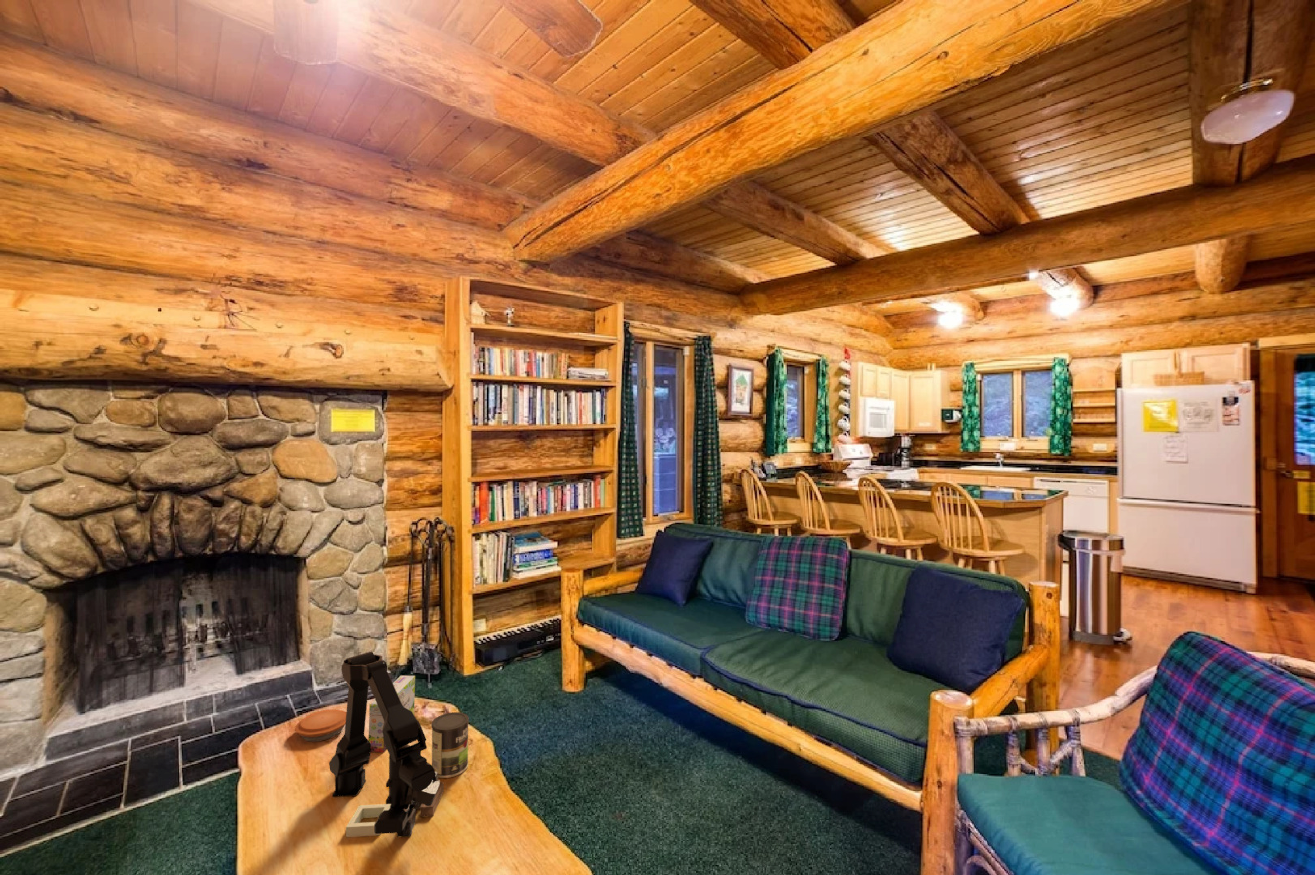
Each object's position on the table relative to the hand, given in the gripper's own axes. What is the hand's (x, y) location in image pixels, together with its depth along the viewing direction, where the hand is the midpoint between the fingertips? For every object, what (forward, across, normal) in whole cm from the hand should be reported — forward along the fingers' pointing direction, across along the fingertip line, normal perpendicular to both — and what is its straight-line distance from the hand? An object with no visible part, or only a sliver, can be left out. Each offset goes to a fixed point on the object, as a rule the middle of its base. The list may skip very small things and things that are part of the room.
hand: (401, 835), depth 139 cm
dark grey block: (+1, +4, 0) cm, 4 cm away
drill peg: (+1, +13, 0) cm, 13 cm away
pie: (+2, +52, +42) cm, 67 cm away
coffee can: (+2, +29, -4) cm, 30 cm away
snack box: (+2, +49, +19) cm, 53 cm away
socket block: (+1, +13, 0) cm, 13 cm away
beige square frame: (+1, +6, +10) cm, 12 cm away
